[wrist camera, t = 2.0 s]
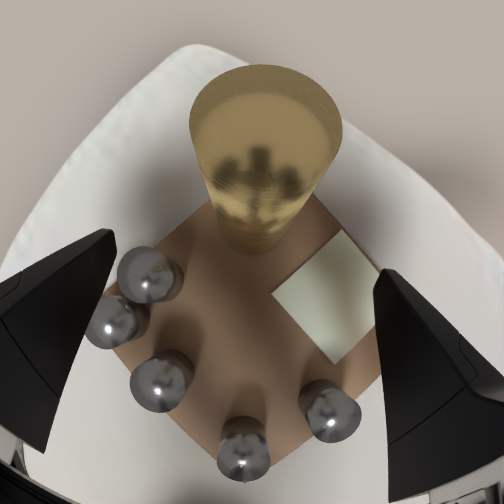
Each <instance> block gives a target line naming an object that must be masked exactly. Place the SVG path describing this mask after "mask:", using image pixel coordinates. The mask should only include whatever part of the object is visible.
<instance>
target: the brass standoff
mask: <svg viewBox="0 0 504 504" xmlns="http://www.w3.org/2000/svg"><path fill="white" fill-rule="evenodd" d="M189 126H190V134H191V138H192V141H193V145H194V148H195V151H196V155H197V158H198V161H199V165H200V168H201V171H202V174H203V178H204V181H205V184H206V187H207V190H208V194H209V197H210V200H211V203H212V206H213V210H214V213H215V216H216V219H217V222H218V225H219V228H220V232H221V234H222V237H223V238H224V240H225V241H226V243H227V244H228V245H229V246H230V247H231V248H233V249H234V250H236V251H238V252H240V253H243V254H247V255H259V254H263V253H266V252H268V251H270V250H271V249H273V248H274V247H275V246H276V245H277V244H278V243H279V242H280V241H281V239H282V238H283V236H284V235H285V233H286V232H287V230H288V228H289V227H290V225H291V224H292V222H293V221H294V219H295V218H296V216H297V215H298V213H299V212H300V210H301V209H302V207H303V206H304V204H305V203H306V201H307V199H308V198H309V196H310V195H311V193H312V192H313V190H314V189H315V187H316V186H317V184H318V183H319V181H320V179H321V178H322V176H323V175H324V173H325V172H326V170H327V169H328V167H329V165H330V164H331V162H332V161H333V159H334V158H335V156H336V154H337V152H338V150H339V147H340V144H341V140H342V121H341V117H340V113H339V111H338V108H337V106H336V104H335V103H334V101H333V100H332V98H331V97H330V96H329V94H328V93H327V92H326V91H325V90H324V89H323V88H322V87H321V86H320V85H319V84H318V83H316V82H315V81H314V80H312V79H311V78H309V77H307V76H305V75H304V74H301V73H299V72H297V71H294V70H292V69H289V68H284V67H281V66H274V65H249V66H243V67H239V68H235V69H233V70H230V71H227V72H225V73H223V74H221V75H219V76H218V77H216V78H215V79H213V80H212V81H211V82H209V83H208V84H207V85H206V86H205V87H204V88H203V89H202V91H201V92H200V93H199V95H198V96H197V98H196V99H195V101H194V104H193V106H192V109H191V112H190V119H189Z"/></svg>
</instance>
